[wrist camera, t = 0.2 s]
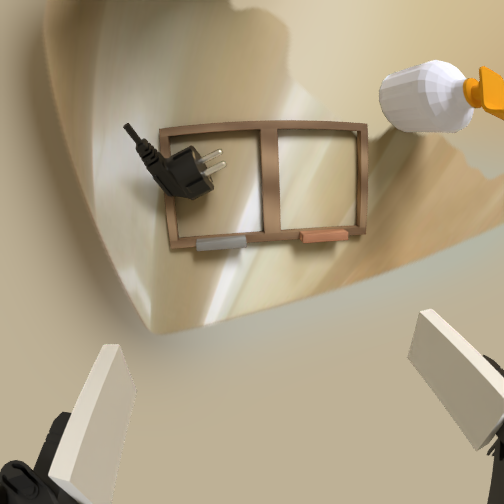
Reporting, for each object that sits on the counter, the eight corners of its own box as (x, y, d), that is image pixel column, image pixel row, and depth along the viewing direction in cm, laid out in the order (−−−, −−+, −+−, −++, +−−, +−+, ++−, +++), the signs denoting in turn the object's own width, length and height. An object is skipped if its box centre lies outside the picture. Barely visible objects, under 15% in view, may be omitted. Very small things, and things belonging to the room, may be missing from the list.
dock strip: (161, 129, 33) (155, 128, 31) (363, 124, 35) (373, 123, 33) (172, 245, 38) (168, 253, 36) (362, 231, 40) (371, 238, 38)
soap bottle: (426, 80, 34) (558, 64, 10) (426, 137, 37) (565, 153, 13) (377, 66, 33) (512, 21, 10) (377, 127, 36) (525, 128, 13)
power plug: (116, 142, 24) (179, 217, 34) (187, 100, 23) (239, 188, 33) (122, 118, 28) (176, 187, 37) (183, 81, 26) (229, 160, 36)
